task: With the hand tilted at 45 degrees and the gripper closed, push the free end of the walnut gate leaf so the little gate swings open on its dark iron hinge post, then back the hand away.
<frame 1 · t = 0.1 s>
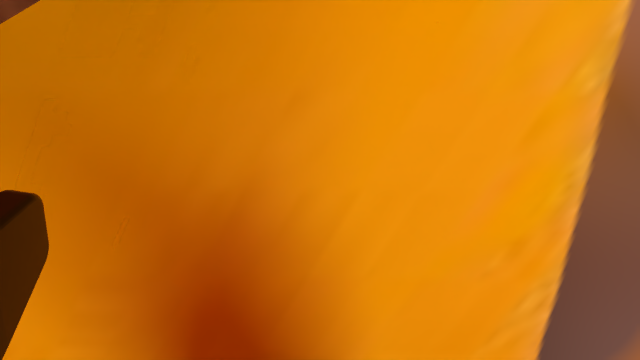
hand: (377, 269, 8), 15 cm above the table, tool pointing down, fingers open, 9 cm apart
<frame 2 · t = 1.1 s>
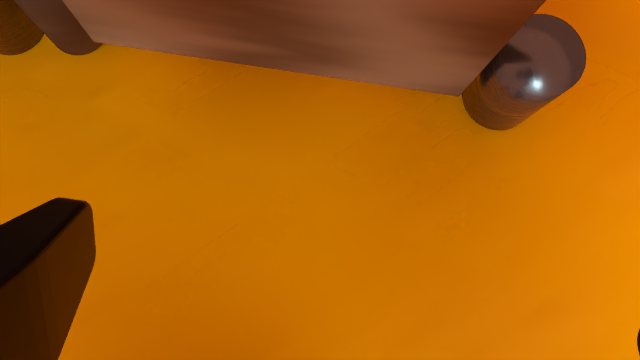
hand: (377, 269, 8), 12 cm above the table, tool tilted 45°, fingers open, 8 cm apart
gate frame: (84, 34, 21), on the table
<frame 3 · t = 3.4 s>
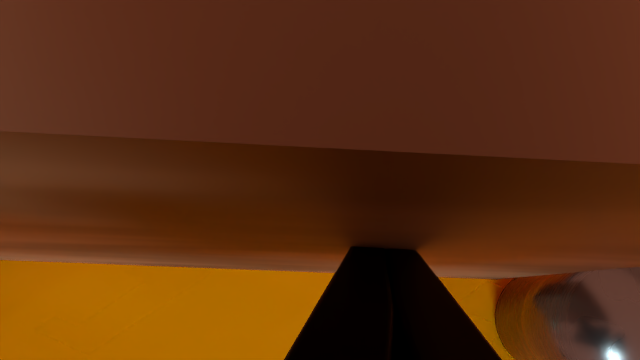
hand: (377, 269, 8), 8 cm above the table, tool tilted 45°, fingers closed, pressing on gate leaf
gate leaf: (154, 205, 8), point 7 cm above the table, hinge at 6.0°, touching gripper
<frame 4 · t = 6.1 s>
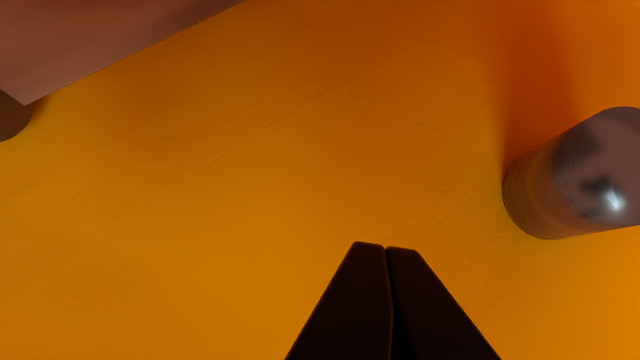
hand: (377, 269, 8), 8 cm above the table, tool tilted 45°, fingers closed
gate frame: (3, 111, 16), on the table
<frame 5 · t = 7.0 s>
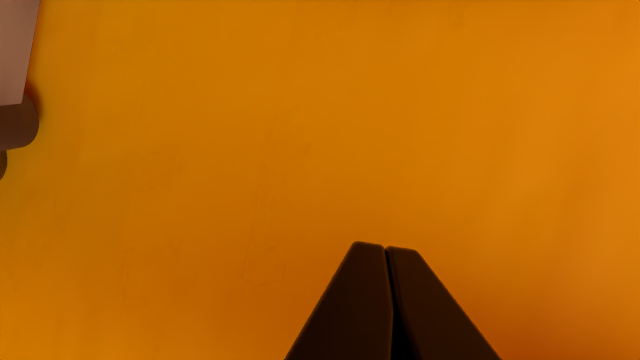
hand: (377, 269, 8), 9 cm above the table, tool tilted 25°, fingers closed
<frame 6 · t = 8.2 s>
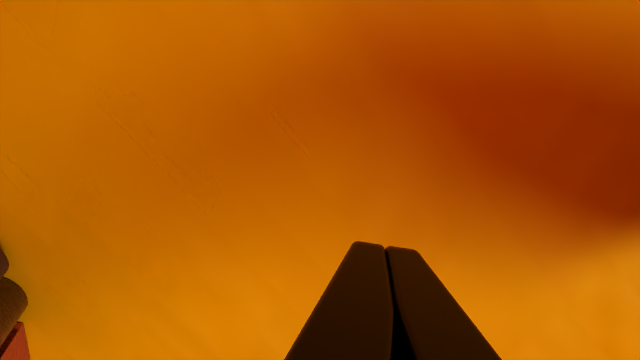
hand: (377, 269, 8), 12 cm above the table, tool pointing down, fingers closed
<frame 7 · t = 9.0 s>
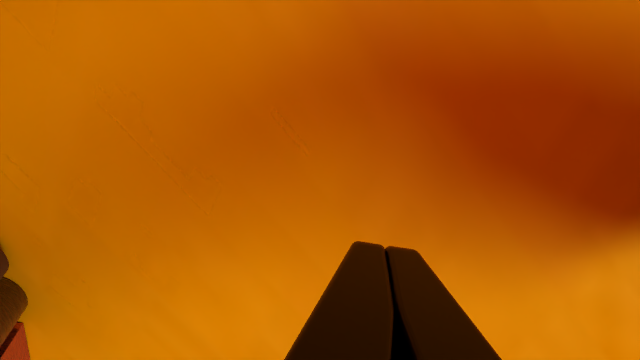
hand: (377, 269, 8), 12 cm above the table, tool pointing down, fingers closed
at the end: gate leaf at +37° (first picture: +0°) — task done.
